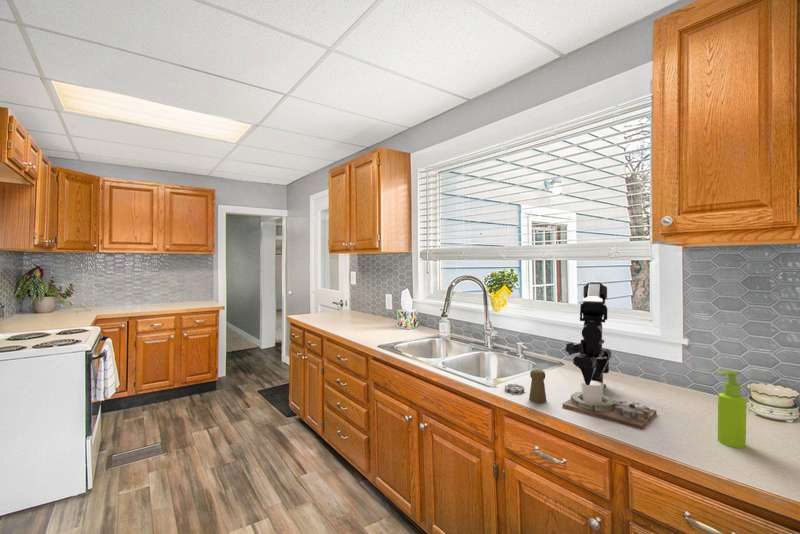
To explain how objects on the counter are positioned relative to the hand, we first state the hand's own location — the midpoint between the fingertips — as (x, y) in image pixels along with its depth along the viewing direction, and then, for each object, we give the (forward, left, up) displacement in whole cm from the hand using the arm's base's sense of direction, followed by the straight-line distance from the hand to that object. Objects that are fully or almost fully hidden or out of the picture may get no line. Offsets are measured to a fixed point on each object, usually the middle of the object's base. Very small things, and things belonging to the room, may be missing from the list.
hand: (592, 381), depth 131 cm
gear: (+5, -27, -9) cm, 29 cm away
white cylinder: (0, 0, -8) cm, 8 cm away
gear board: (0, +5, -9) cm, 10 cm away
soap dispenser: (0, +36, -9) cm, 37 cm away
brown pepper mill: (+8, -16, -9) cm, 20 cm away
